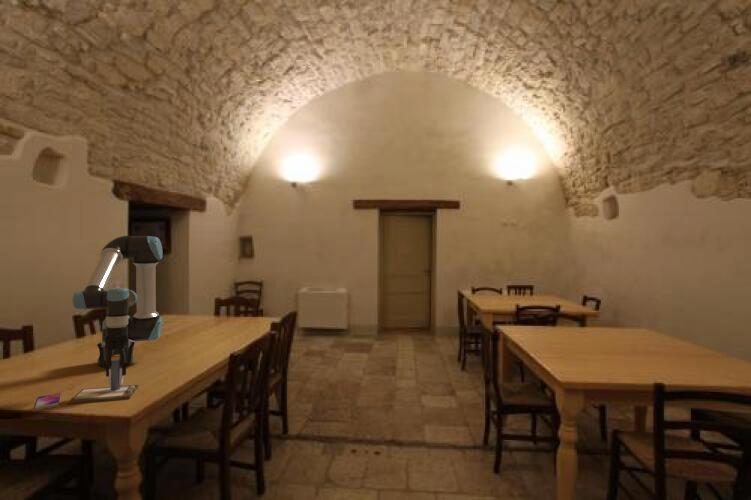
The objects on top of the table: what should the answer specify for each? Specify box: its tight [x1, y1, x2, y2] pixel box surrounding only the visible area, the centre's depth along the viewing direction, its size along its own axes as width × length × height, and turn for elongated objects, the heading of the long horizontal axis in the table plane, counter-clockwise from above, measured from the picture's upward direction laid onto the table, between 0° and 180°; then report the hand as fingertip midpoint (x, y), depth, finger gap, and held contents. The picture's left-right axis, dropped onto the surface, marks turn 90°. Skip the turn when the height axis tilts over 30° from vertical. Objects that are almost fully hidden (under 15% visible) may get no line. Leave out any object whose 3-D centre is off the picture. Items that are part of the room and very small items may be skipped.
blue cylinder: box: [110, 355, 122, 391], centre depth 163 cm, size 4×4×14 cm
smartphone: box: [33, 392, 62, 411], centre depth 152 cm, size 7×1×15 cm
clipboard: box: [67, 384, 139, 405], centre depth 160 cm, size 14×20×2 cm
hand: (116, 383), depth 163 cm, fingers closed on blue cylinder, 3 cm apart
